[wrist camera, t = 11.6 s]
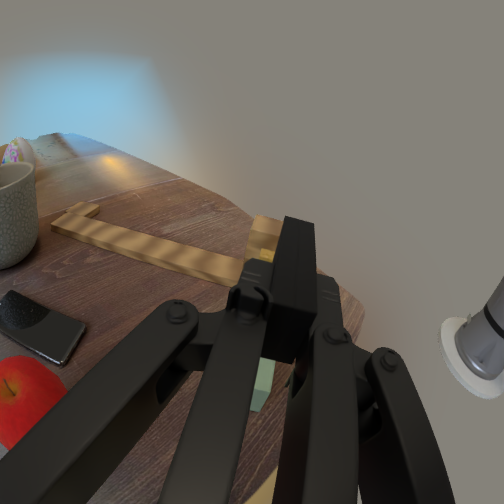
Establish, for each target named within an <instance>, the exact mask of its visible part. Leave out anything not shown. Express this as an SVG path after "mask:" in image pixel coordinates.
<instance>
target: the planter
mask: <svg viewBox="0 0 504 504" xmlns="http://www.w3.org/2000/svg"><path fill="white" fill-rule="evenodd" d="M38 232H39V221H38V211H37V202H36V188H35V172H34V166H33V164H31V163H29V162H10V163H4V164H0V269H6V268H9V267H11V266H14V265H15V264H17V263H19V262H20V261H22V260H23V259H24V258H25V257H26V256H27V255H28V254H29V252H30V251H31V250H32V248H33V247H34V245H35V243H36V240H37V237H38Z"/></svg>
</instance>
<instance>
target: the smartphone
mask: <svg viewBox="0 0 504 504" xmlns="http://www.w3.org/2000/svg"><path fill="white" fill-rule="evenodd" d="M0 331H1V332H3V333H4V334H6V335H7V336H9V337H10V338H12V339H13V340H15V341H16V342H18V343H20V344H21V345H23V346H25V347H26V348H28V349H30V350H31V351H33V352H35V353H37V354H38V355H40V356H42V357H44V358H46V359H47V360H49V361H51V362H53V363H55V364H57V365H59V366H64V365H65V364H66V362H67V360H68V359H69V357H70V355H71V354H72V352H73V350H74V349H75V347H76V345H77V344H78V342H79V340H80V339H81V337H82V335H83V334H84V332H85V331H86V325H85V324H84V323H83V322H80V321H78V320H75V319H73V318H70V317H68V316H66V315H63V314H61V313H59V312H57V311H54V310H52V309H50V308H48V307H46V306H44V305H41V304H39V303H37V302H35V301H33V300H31V299H29V298H27V297H25V296H23V295H21V294H19V293H17V292H15V291H14V290H10V291H9V292H8V293H7V294H6V295H5V296H4V297H3V298H2V299H1V301H0Z"/></svg>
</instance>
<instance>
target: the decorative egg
mask: <svg viewBox="0 0 504 504" xmlns="http://www.w3.org/2000/svg"><path fill="white" fill-rule="evenodd" d="M10 162H29V163H31V164H33V166H34V172H35V167H36V162H35V155H34V152H33V149H32V147H31V145H30V144H29V143H28V142H27V141H26V140H25V139H24V138H20V137H18V138H15V139H14V140H12V141H11V142H10V144H9V145H8V147H7V149H6V151H5V154H4V157H3V162H2V164H4V163H10Z"/></svg>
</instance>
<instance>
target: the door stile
mask: <svg viewBox="0 0 504 504" xmlns="http://www.w3.org/2000/svg"><path fill="white" fill-rule="evenodd" d="M274 367H275V361H274V360H269V359H265V358H261V357H260V362H259V367H258V372H257V377H256V382H255V387H254V391H253V396H252V401H251V406H250V410H252V411H256V412H260V410H261V408H262V407H263V405H264V403H265V401H266V399H267V398H268V396H269V394H270V392H271V387H272V380H273V374H274Z"/></svg>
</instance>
